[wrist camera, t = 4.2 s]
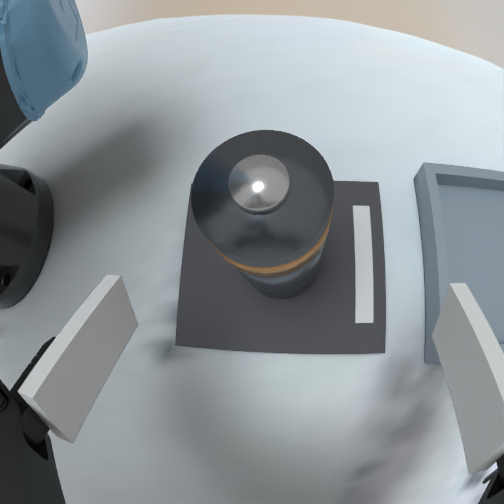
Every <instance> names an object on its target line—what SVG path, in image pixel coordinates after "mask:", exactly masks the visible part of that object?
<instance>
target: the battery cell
mask: <svg viewBox="0 0 504 504" xmlns="http://www.w3.org/2000/svg"><path fill="white" fill-rule="evenodd" d="M333 199H334V184H333V178H332V175H331V171H330V169H329V167H328V165H327V163H326V161H325V160H324V158H323V157H322V156H321V154H320V153H319V152H318V151H317V150H316V149H315V148H314V147H313V146H312V145H310V144H309V143H307V142H306V141H305V140H303V139H301V138H299V137H297V136H294V135H292V134H289V133H285V132H281V131H274V130H259V131H252V132H247V133H243V134H240V135H237V136H235V137H233V138H231V139H229V140H227V141H225V142H224V143H222V144H221V145H219V146H218V147H217V148H215V149H214V150H213V151H212V152H211V153H210V154H209V155H208V156H207V158H206V159H205V160H204V161H203V163H202V164H201V166H200V167H199V169H198V171H197V173H196V176H195V178H194V181H193V185H192V190H191V207H192V212H193V216H194V218H195V221H196V223H197V225H198V227H199V229H200V231H201V232H202V233H203V234H204V236H205V237H206V238H207V239H208V241H209V242H210V243H211V245H212V246H213V247H214V248H215V249H216V251H217V252H218V253H219V254H220V255H221V256H222V257H223V258H224V259H225V260H226V261H227V262H229V263H230V264H231V265H232V266H234V267H235V268H236V269H237V270H238V271H239V272H240V274H241V275H242V276H243V277H244V278H245V279H246V280H247V281H248V282H249V283H250V284H251V285H252V286H253V287H254V288H255V289H256V290H257V291H259V292H260V293H261V294H263V295H265V296H267V297H270V298H274V299H289V298H293V297H296V296H298V295H300V294H301V293H303V292H304V291H306V290H307V289H308V288H309V287H310V286H311V285H312V283H313V282H314V280H315V278H316V276H317V273H318V270H319V265H320V261H321V257H322V252H323V248H324V243H325V240H326V237H327V234H328V230H329V226H330V221H331V216H332V210H333Z"/></svg>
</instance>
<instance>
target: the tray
mask: <svg viewBox="0 0 504 504" xmlns="http://www.w3.org/2000/svg"><path fill="white" fill-rule="evenodd" d="M414 182H415V188H416V195H417V202H418V209H419V217H420V225H421V235H422V245H423V257H424V273H425V296H426V345H425V362H429V363H435V364H441V361H440V358H439V355H438V352H437V349H436V346H435V343H434V341H433V338H432V333H433V331H434V328H435V325H436V323H437V320H438V317H439V314H440V311H441V308H442V305H443V302H444V299H445V296H446V293H447V290H448V287H449V283H466V285H467V286H468V288H469V290H470V291H471V293H472V295H473V296H474V298H475V300H476V302H477V303H478V305H479V307H480V309H481V311H482V312H483V314H484V316H485V318H486V320H487V322H488V323H489V325H490V327H491V329H492V331H493V333H494V335H495V337H496V339H497V341H498V343H499V345H500V347H501V349H502V351H503V353H504V172H500V171H493V170H486V169H479V168H471V167H463V166H454V165H445V164H434V163H423V164H422V166H421V168H420V169H419V171H418V173H417V174H416V176H415V178H414Z"/></svg>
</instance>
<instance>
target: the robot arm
mask: <svg viewBox="0 0 504 504" xmlns="http://www.w3.org/2000/svg"><path fill="white" fill-rule="evenodd" d="M87 59H88V50H87V43H86V38H85V33H84V29H83V25H82V21H81V18H80V15H79V12H78V9H77V6H76V3H75V0H0V149H1V148H2V147H3V146H4V145H5V144H7V143H8V142H9V141H10V140H11V139H12V138H13V137H14V136H16V135H17V134H18V133H19V132H20V131H21V130H23V129H24V128H25V127H26V126H27V125H29V124H30V123H31V122H32V121H37V120H38V119H40V118H41V117H42V115H43V114H44V112H45V110H46V109H47V108H48V107H49V106H51V105H52V104H53V103H54V102H56V101H57V100H58V99H59V98H60V97H62V96H63V95H64V94H66V93H67V92H68V91H69V90H71V89H72V88H73V87H74V86H75V85H76V84H77V83H78V82H79V81H80V79H81V78H82V76H83V74H84V72H85V69H86V66H87ZM52 225H53V204H52V198H51V194H50V191H49V189H48V187H47V185H46V183H45V182H44V181H43V180H42V179H40V178H39V177H38V176H36V175H35V174H33V173H32V172H30V171H29V170H27V169H24V168H20V167H15V166H9V165H4V164H0V308H7V307H10V306H12V305H14V304H15V303H17V302H18V301H19V300H20V299H22V298H23V297H24V295H25V294H26V293H27V292H28V290H29V289H30V288H31V286H32V285H33V283H34V281H35V280H36V278H37V276H38V274H39V272H40V269H41V267H42V265H43V262H44V260H45V257H46V254H47V250H48V247H49V243H50V238H51V232H52ZM137 326H138V323H137V320H136V317H135V315H134V312H133V309H132V306H131V303H130V301H129V298H128V295H127V292H126V289H125V286H124V283H123V280H122V277H121V275H106V276H105V277H104V278H103V279H102V281H101V282H100V283H99V284H98V285H97V287H96V288H95V289H94V290H93V291H92V293H91V294H90V295H89V296H88V297H87V299H86V300H85V301H84V302H83V304H82V305H81V306H80V307H79V309H78V310H77V311H76V312H75V314H74V315H73V316H72V317H71V319H70V320H69V321H68V322H67V324H66V325H65V326H64V328H63V329H62V330H61V332H60V333H59V334H58V335H57V337H53V338H51V339H50V340H49V341H47V342H46V343H45V344H44V345H43V346H42V347H41V349H40V350H39V351H38V353H37V356H35V357H34V358H33V359H32V361H31V364H29V365H28V366H27V368H26V369H25V371H24V372H23V373H22V375H21V376H20V378H19V379H18V380H17V382H16V383H15V385H14V386H13V388H12V389H11V390H10V391H9V390H8V389H7V387H6V386H5V385H4V384H3V382H2V381H1V380H0V504H66V503H65V499H64V496H63V492H62V489H61V485H60V481H59V477H58V473H57V468H56V464H55V459H54V455H53V450H52V444H51V439H50V437H49V435H48V434H47V433H48V431H49V429H51V430H52V432H53V433H54V434H55V435H56V436H57V437H59V438H61V439H64V440H66V441H68V442H71V443H73V442H74V440H75V438H76V436H77V434H78V432H79V430H80V428H81V427H82V425H83V423H84V421H85V419H86V417H87V415H88V413H89V411H90V409H91V408H92V406H93V404H94V402H95V400H96V398H97V396H98V394H99V393H100V391H101V389H102V387H103V385H104V384H105V382H106V380H107V378H108V376H109V375H110V373H111V371H112V369H113V367H114V366H115V364H116V362H117V360H118V359H119V357H120V355H121V353H122V352H123V350H124V348H125V346H126V345H127V343H128V341H129V340H130V338H131V336H132V334H133V333H134V331H135V329H136V328H137ZM432 338H433V341H434V343H435V346H436V349H437V352H438V355H439V358H440V361H441V364H442V368H443V371H444V374H445V377H446V381H447V384H448V387H449V391H450V394H451V398H452V402H453V405H454V409H455V413H456V417H457V421H458V425H459V429H460V433H461V438H462V442H463V447H464V452H465V457H466V462H467V468H468V473H469V474H473V473H476V472H480V471H483V470H487V469H488V468H489V467H491V466H492V465H493V464H494V463H495V462H497V466H498V468H497V469H496V470H495V471H494V472H492V473H491V474H490V475H489V476H487V477H486V478H485V479H484V481H483V482H482V483H484V484H485V483H486V482H487V481H489V480H490V479H491V480H490V482H489V484H488V486H487V488H486V490H485V492H484V494H483V495H482V497H481V499H480V501H479V503H478V504H504V353H503V351H502V349H501V347H500V345H499V343H498V341H497V339H496V337H495V335H494V333H493V331H492V329H491V327H490V325H489V323H488V322H487V320H486V318H485V316H484V314H483V312H482V311H481V309H480V307H479V305H478V303H477V302H476V300H475V298H474V296H473V295H472V293H471V291H470V290H469V288H468V286H467V285H466V283H449V287H448V290H447V293H446V296H445V299H444V302H443V305H442V308H441V311H440V314H439V317H438V320H437V323H436V325H435V328H434V331H433V333H432Z"/></svg>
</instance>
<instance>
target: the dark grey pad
mask: <svg viewBox="0 0 504 504" xmlns="http://www.w3.org/2000/svg"><path fill="white" fill-rule="evenodd" d="M333 184H334V199H333V210H332V216H331V221H330V226H329V230H328V234H327V237H326V240H325V243H324V248H323V252H322V257H321V261H320V265H319V270H318V273H317V276H316V278H315V280H314V282H313V283H312V285H311V286H310V287H309V288H308V289H307V290H306V291H304V292H303V293H301V294H300V295H298V296H296V297H293V298H289V299H274V298H270V297H267V296H265V295H263V294H261V293H260V292H259V291H257V290H256V289H255V288H254V287H253V286H252V285H251V284H250V283H249V282H248V281H247V280H246V279H245V278H244V277H243V276H242V275H241V274H240V272H239V271H238V270H237V269H236V268H235V267H234V266H232V265H231V264H230V263H229V262H227V261H226V260H225V259H224V258H223V257H222V256H221V255H220V254H219V253H218V252H217V251H216V249H215V248H214V247H213V246H212V245H211V243H210V242H209V241H208V239H207V238H206V237H205V236H204V234H203V233H202V232H201V231H200V229H199V227H198V225H197V223H196V221H195V218H194V216H193V212H192V207H191V190H192V185H193V184H191V190H190V198H189V206H188V214H187V222H186V230H185V239H184V248H183V258H182V268H181V278H180V289H179V301H178V314H177V328H176V344H175V345H179V346H189V347H199V348H209V349H221V350H235V351H250V352H269V353H297V354H369V353H385V332H386V287H385V258H384V240H383V226H382V214H381V203H380V194H379V185H378V182H358V181H333Z"/></svg>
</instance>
